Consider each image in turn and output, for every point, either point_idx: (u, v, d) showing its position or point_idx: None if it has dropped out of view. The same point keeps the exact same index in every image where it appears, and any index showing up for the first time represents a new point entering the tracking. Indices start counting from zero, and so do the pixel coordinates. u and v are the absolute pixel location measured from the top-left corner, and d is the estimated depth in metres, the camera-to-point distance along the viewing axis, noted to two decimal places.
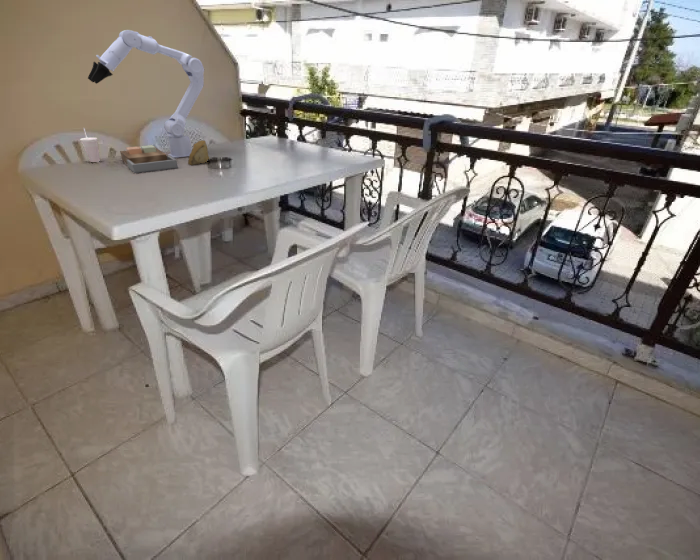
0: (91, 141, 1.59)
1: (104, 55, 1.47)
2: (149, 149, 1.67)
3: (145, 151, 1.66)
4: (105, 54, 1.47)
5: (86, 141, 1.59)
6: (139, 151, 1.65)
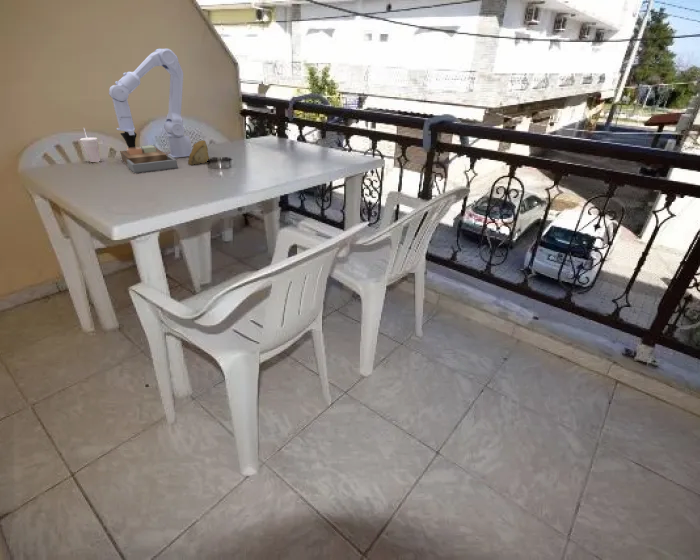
0: (91, 141, 1.59)
1: (120, 124, 1.60)
2: (149, 149, 1.67)
3: (145, 151, 1.66)
4: (120, 123, 1.59)
5: (86, 141, 1.59)
6: (139, 151, 1.64)
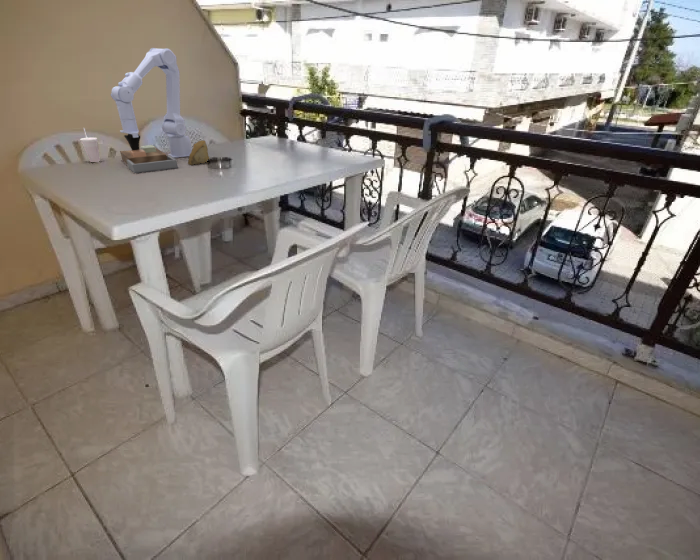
0: (91, 141, 1.59)
1: (124, 127, 1.55)
2: (149, 149, 1.67)
3: (145, 151, 1.66)
4: (123, 125, 1.55)
5: (86, 141, 1.59)
6: (143, 154, 1.60)
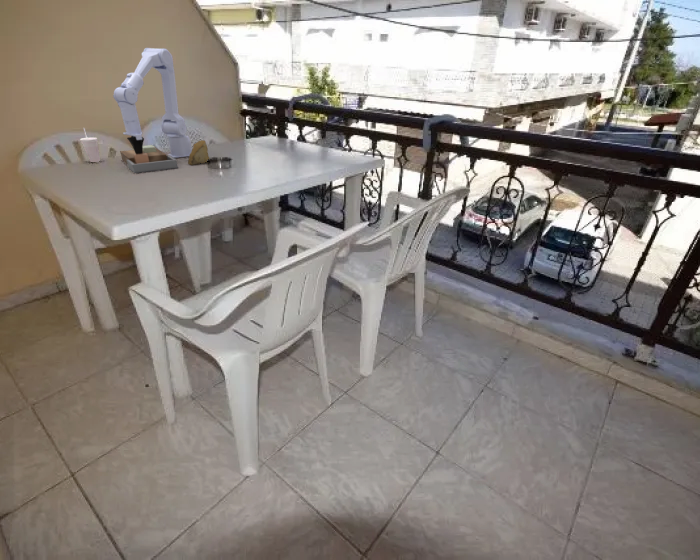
0: (91, 141, 1.59)
1: (127, 129, 1.52)
2: (149, 149, 1.67)
3: (145, 151, 1.66)
4: (127, 127, 1.51)
5: (86, 141, 1.59)
6: None
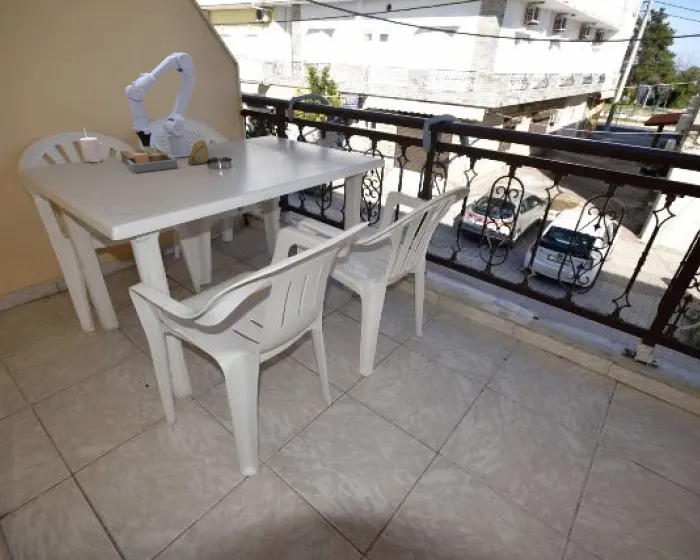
0: (91, 141, 1.59)
1: (136, 124, 1.63)
2: (150, 149, 1.66)
3: (146, 151, 1.65)
4: (135, 122, 1.62)
5: (86, 141, 1.59)
6: None
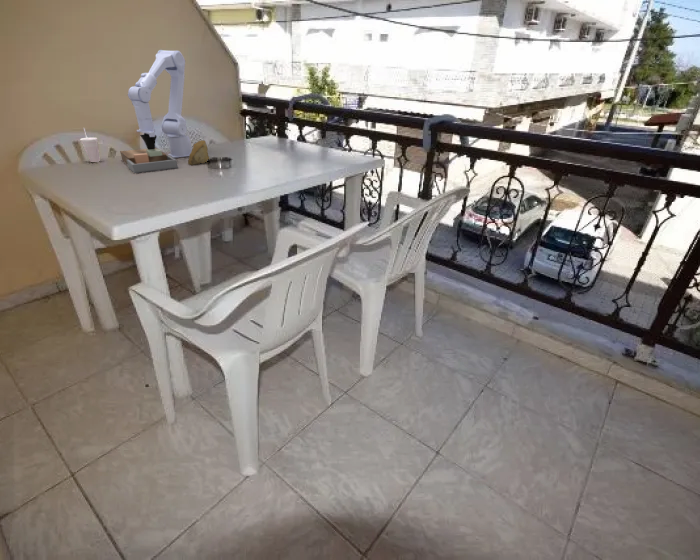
0: (91, 141, 1.59)
1: (140, 126, 1.58)
2: (155, 153, 1.61)
3: (151, 155, 1.60)
4: (140, 125, 1.57)
5: (86, 141, 1.59)
6: None
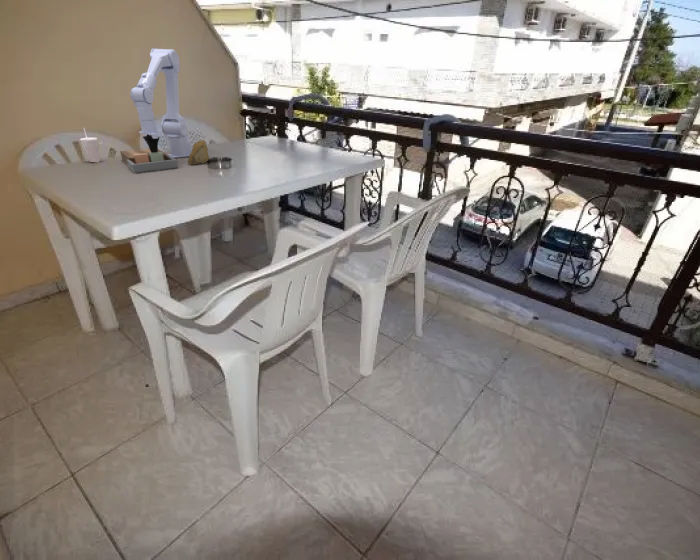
0: (91, 141, 1.59)
1: (143, 128, 1.55)
2: None
3: None
4: (143, 126, 1.55)
5: (86, 141, 1.59)
6: None
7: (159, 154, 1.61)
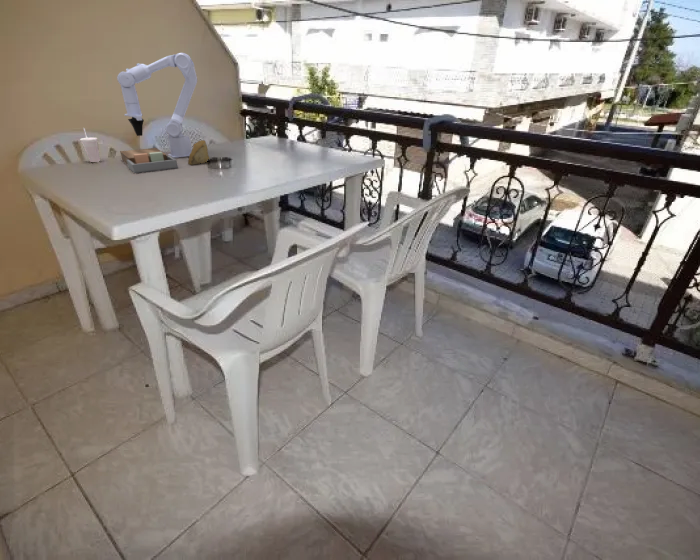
0: (91, 141, 1.59)
1: (128, 110, 1.64)
2: None
3: None
4: (128, 109, 1.64)
5: (86, 141, 1.59)
6: None
7: (159, 154, 1.61)
